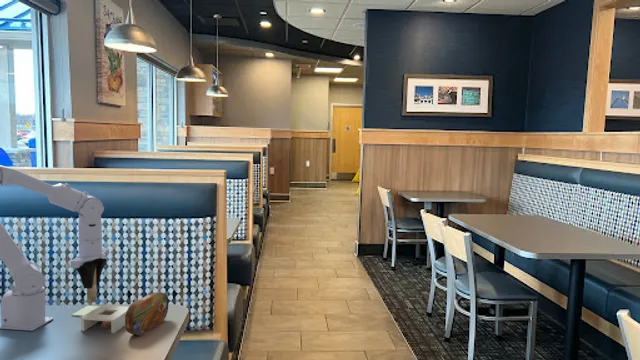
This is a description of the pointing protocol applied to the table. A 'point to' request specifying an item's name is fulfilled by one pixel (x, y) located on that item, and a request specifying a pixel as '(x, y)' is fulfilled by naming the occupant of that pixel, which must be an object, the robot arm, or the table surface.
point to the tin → (146, 313)
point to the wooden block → (92, 291)
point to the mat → (85, 311)
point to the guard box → (105, 317)
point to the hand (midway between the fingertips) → (91, 286)
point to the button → (106, 323)
